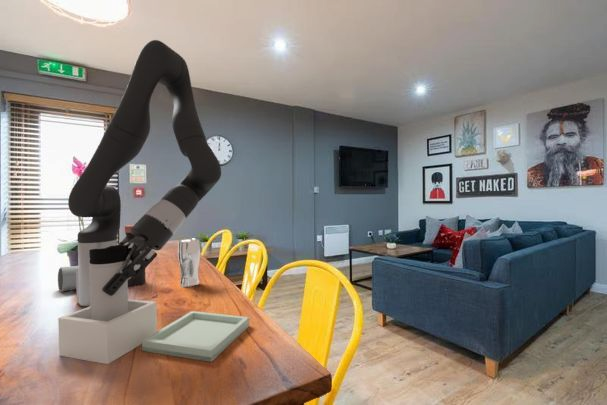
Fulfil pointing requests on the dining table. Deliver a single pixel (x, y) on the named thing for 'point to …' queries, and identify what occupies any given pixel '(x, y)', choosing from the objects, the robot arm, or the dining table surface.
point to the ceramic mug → (67, 278)
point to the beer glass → (189, 261)
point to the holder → (106, 332)
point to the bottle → (141, 277)
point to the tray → (197, 335)
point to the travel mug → (101, 272)
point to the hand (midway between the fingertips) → (100, 289)
